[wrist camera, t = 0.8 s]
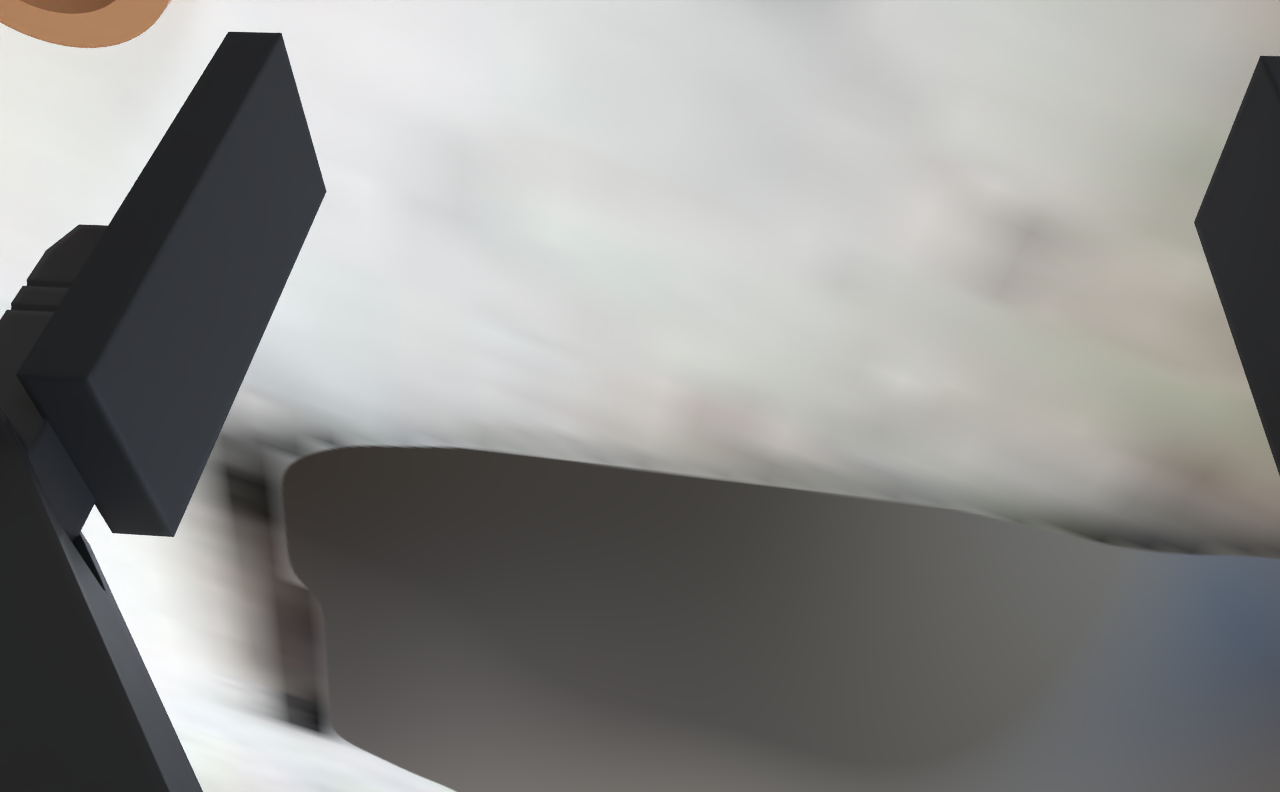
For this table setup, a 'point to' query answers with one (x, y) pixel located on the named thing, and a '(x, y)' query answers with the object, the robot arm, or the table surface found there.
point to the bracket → (81, 20)
